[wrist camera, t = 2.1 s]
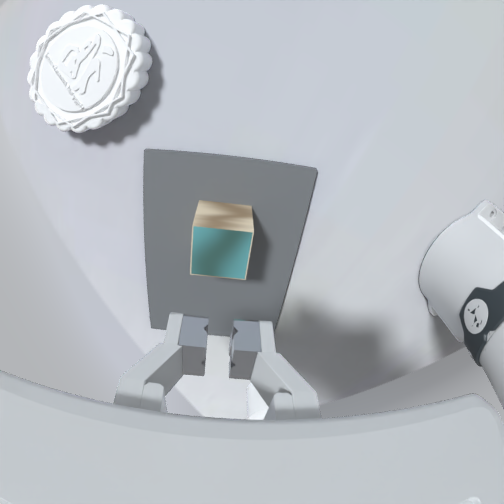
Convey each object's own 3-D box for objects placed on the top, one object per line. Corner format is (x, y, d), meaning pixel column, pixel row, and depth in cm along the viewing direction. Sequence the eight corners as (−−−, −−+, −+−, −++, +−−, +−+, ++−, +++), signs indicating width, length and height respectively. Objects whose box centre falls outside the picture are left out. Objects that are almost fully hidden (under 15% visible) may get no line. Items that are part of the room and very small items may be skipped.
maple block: (251, 205, 29) (254, 231, 25) (244, 249, 32) (245, 280, 28) (199, 200, 29) (192, 225, 24) (196, 244, 31) (190, 274, 27)
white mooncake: (178, 75, 23) (169, 75, 20) (82, 150, 26) (65, 161, 23) (114, -14, 17) (98, -23, 14) (26, 68, 20) (6, 71, 17)
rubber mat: (315, 168, 28) (317, 170, 27) (271, 335, 40) (272, 339, 40) (145, 148, 26) (144, 150, 26) (152, 324, 38) (151, 328, 38)
